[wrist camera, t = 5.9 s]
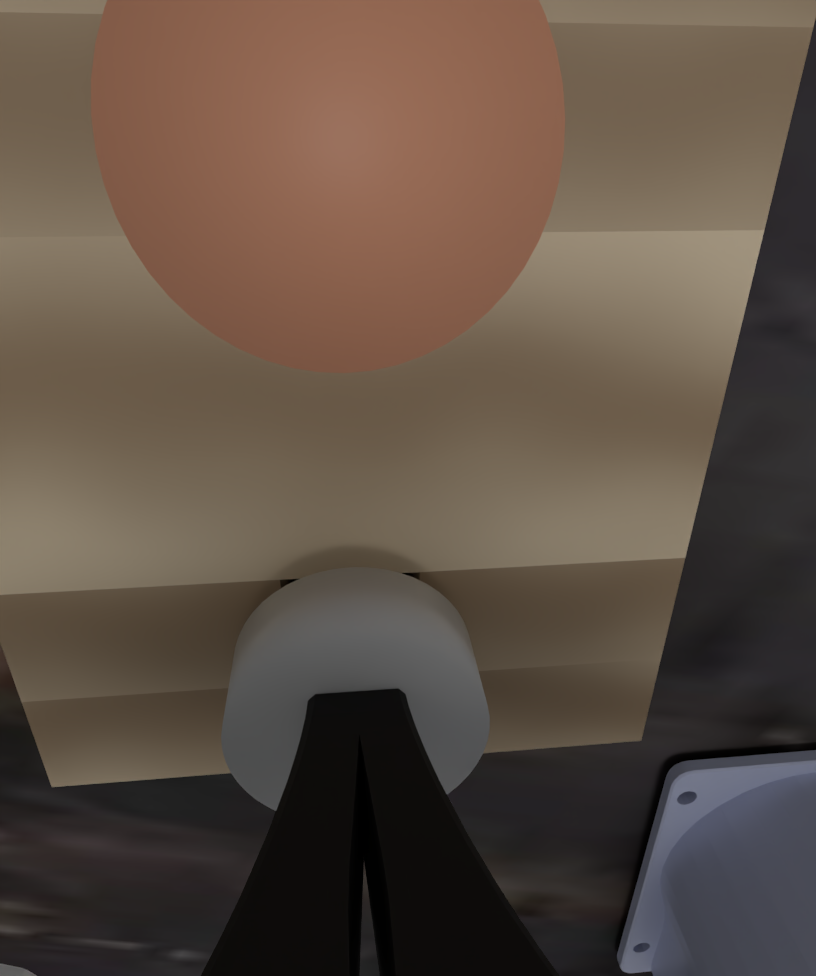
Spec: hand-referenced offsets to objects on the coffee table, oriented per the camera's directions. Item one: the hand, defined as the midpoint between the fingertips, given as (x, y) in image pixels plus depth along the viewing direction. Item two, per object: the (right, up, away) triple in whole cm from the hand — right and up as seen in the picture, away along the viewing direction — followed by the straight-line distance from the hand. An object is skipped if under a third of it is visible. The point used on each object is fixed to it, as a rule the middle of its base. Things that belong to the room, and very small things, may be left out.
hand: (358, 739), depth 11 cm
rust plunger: (0, +9, -1) cm, 9 cm away
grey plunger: (0, +2, +3) cm, 4 cm away
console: (0, +6, +2) cm, 6 cm away
